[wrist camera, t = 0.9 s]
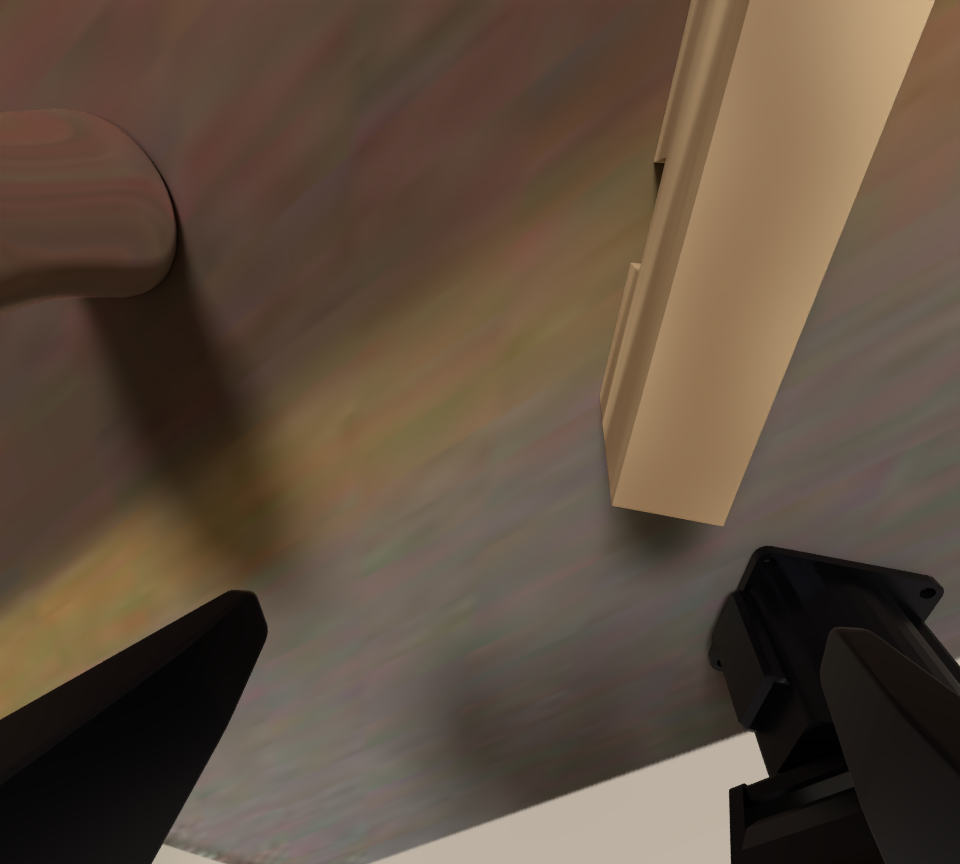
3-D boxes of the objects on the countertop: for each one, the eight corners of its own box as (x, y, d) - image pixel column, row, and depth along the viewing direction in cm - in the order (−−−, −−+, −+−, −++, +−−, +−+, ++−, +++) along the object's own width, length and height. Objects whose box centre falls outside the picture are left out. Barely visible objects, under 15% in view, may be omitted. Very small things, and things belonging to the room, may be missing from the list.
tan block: (807, -40, 12) (1048, -283, 6) (671, 408, 18) (723, 526, 11) (702, -47, 12) (828, -287, 6) (599, 396, 18) (611, 505, 12)
